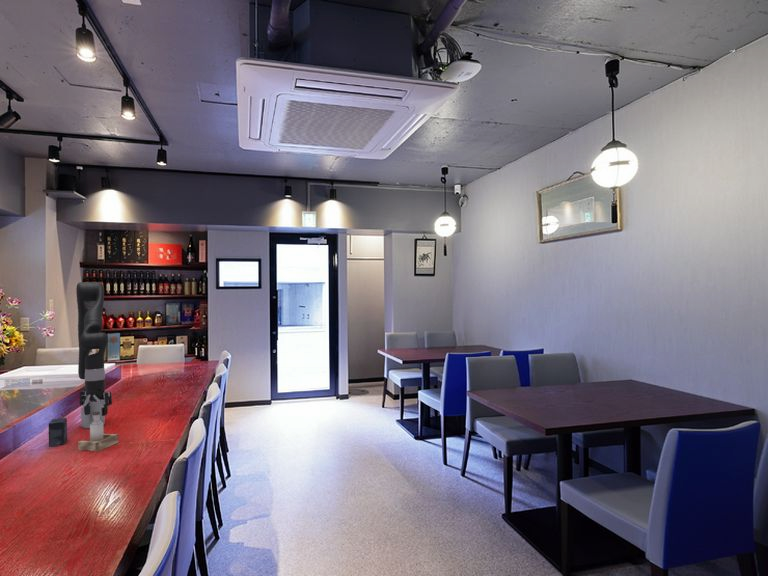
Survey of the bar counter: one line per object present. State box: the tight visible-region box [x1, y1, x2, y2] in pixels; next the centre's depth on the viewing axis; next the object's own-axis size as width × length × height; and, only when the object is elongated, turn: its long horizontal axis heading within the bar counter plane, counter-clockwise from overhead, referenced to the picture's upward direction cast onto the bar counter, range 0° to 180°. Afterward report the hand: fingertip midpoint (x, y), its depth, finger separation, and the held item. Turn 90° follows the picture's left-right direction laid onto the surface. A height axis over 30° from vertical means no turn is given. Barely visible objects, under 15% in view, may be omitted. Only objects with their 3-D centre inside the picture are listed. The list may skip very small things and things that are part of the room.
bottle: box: [89, 412, 105, 441], centre depth 196 cm, size 5×5×14 cm
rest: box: [77, 433, 119, 452], centre depth 196 cm, size 10×11×4 cm
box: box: [48, 417, 68, 448], centre depth 201 cm, size 8×6×11 cm
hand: (96, 415), depth 196 cm, fingers open, 8 cm apart
